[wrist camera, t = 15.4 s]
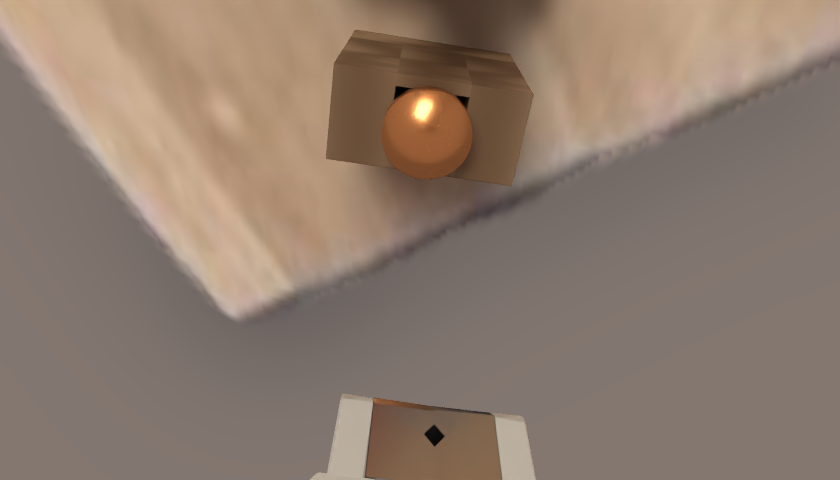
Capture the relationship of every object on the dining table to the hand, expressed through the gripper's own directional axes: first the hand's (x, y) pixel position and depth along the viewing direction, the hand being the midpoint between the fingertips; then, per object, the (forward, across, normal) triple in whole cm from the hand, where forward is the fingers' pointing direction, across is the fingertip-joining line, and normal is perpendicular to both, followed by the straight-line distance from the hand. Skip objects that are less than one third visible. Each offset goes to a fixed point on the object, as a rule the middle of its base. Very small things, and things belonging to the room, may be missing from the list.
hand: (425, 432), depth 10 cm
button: (+22, 0, 0) cm, 22 cm away
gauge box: (+25, 0, 0) cm, 25 cm away
